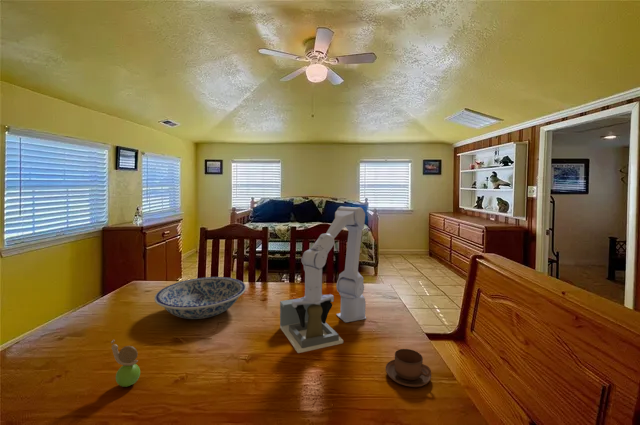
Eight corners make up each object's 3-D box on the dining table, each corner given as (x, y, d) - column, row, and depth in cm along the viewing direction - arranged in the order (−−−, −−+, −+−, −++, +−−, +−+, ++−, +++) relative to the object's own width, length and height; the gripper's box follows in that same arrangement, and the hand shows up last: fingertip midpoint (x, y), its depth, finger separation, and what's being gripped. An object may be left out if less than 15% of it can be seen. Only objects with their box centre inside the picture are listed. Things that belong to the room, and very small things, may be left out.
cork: (323, 342, 101) (323, 309, 100) (304, 341, 101) (305, 308, 101) (323, 333, 107) (324, 302, 106) (306, 332, 108) (306, 302, 107)
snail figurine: (119, 378, 82) (117, 335, 82) (144, 377, 83) (143, 334, 82) (107, 392, 77) (105, 345, 76) (134, 391, 78) (132, 345, 77)
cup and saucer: (430, 369, 89) (431, 349, 88) (431, 396, 77) (432, 372, 77) (388, 361, 93) (388, 341, 92) (382, 385, 81) (383, 363, 81)
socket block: (319, 320, 120) (320, 295, 119) (343, 343, 103) (343, 313, 102) (280, 327, 113) (280, 301, 113) (297, 353, 96) (298, 322, 95)
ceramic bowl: (134, 322, 117) (133, 296, 116) (200, 293, 148) (200, 273, 147) (205, 340, 104) (205, 311, 103) (262, 304, 135) (262, 282, 135)
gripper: (297, 291, 98) (297, 333, 99) (338, 286, 104) (337, 325, 105) (290, 285, 104) (289, 324, 105) (328, 280, 110) (328, 317, 111)
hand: (313, 324), depth 105 cm, fingers open, 7 cm apart
